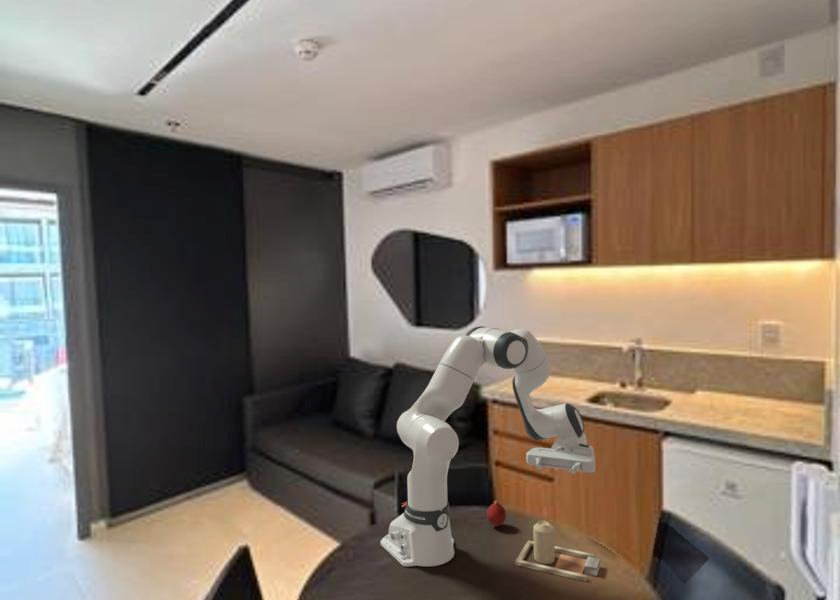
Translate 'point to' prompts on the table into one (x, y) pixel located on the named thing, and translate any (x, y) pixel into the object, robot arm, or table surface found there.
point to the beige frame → (564, 563)
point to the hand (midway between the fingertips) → (554, 468)
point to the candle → (544, 542)
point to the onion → (496, 514)
